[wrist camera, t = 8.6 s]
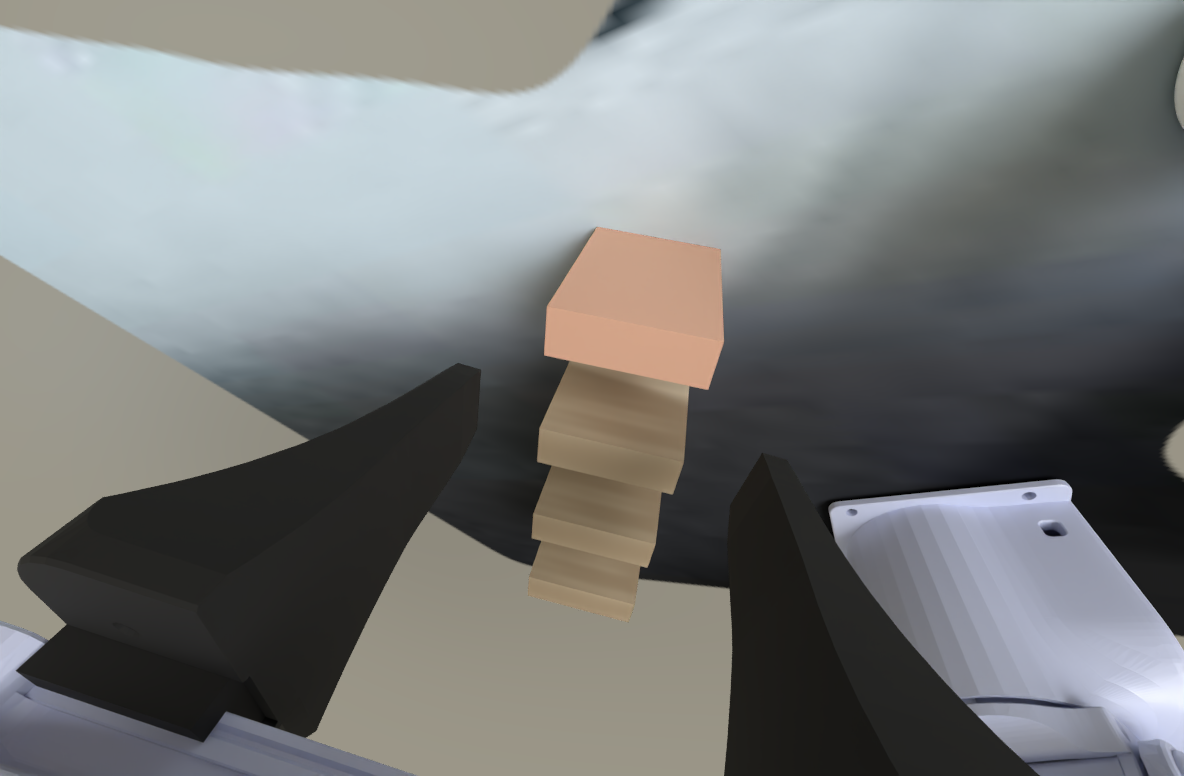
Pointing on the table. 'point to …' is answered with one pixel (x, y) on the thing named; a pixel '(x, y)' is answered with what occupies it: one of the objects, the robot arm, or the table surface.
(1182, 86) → the drinking glass
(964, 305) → the table surface
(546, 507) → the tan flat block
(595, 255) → the salmon orange block
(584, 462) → the domino
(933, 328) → the table surface
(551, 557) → the domino
